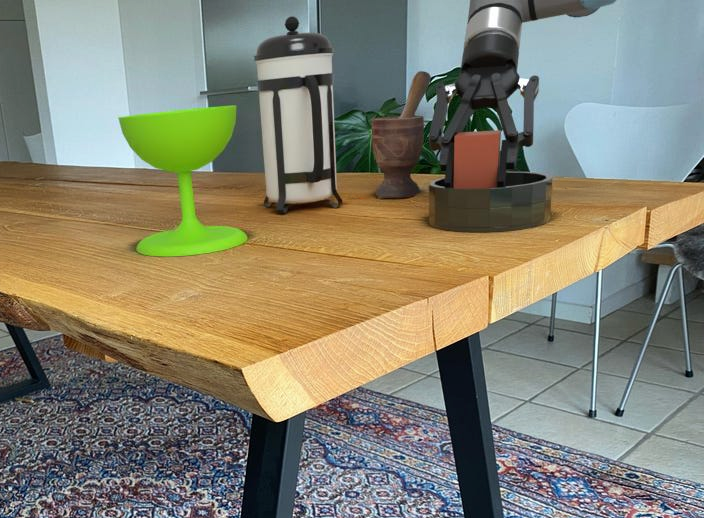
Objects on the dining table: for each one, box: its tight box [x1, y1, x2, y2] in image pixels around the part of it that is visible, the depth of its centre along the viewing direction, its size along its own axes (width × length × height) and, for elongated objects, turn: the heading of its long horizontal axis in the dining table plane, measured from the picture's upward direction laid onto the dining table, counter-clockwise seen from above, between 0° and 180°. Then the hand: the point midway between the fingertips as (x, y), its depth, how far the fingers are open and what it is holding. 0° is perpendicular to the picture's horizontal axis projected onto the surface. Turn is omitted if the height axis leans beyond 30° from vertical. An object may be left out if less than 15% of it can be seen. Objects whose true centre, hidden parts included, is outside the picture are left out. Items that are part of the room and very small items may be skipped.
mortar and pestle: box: [370, 70, 432, 200], centre depth 126 cm, size 12×9×20 cm
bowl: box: [428, 171, 553, 233], centre depth 99 cm, size 15×16×6 cm
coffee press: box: [253, 15, 344, 215], centre depth 120 cm, size 17×16×30 cm
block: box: [453, 129, 502, 188], centre depth 99 cm, size 6×6×11 cm
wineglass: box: [117, 105, 248, 257], centre depth 102 cm, size 16×16×18 cm
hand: (474, 188), depth 96 cm, fingers closed on block, 6 cm apart
